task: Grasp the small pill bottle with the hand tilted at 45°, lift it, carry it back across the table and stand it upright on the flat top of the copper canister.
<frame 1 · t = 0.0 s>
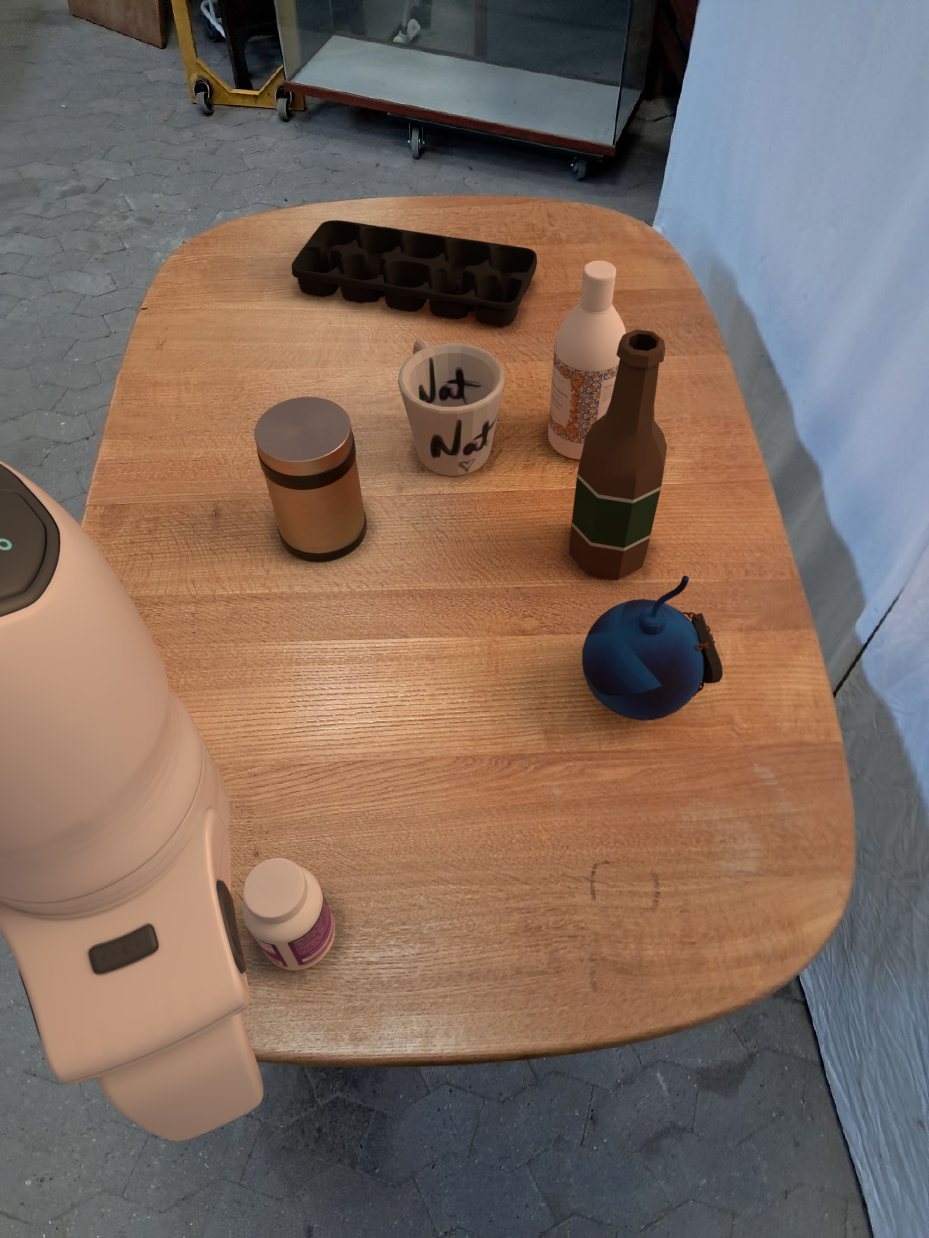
hand: (196, 931, 45), 21 cm above the table, tool pointing down, fingers open, 8 cm apart
copper canister: (323, 529, 89), on the table
pill bottle: (299, 934, 66), on the table
bath foam: (580, 440, 97), on the table
beer bottle: (607, 552, 87), on the table
bomb: (640, 692, 78), on the table
egg carton: (416, 287, 114), on the table
mug: (445, 440, 97), on the table
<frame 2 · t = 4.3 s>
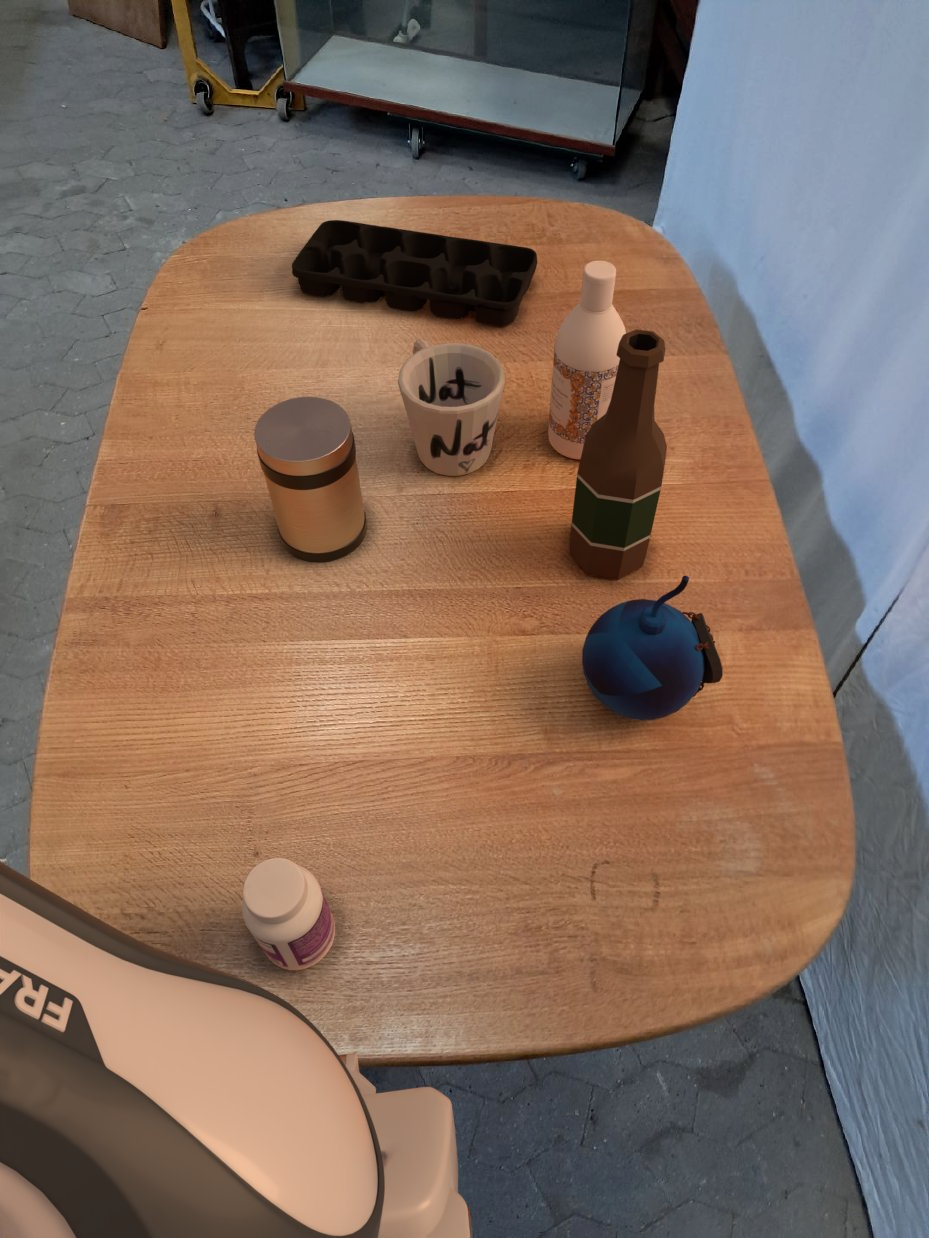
hand: (251, 1078, 46), 16 cm above the table, tool tilted 45°, fingers open, 8 cm apart
nothing on the table moved.
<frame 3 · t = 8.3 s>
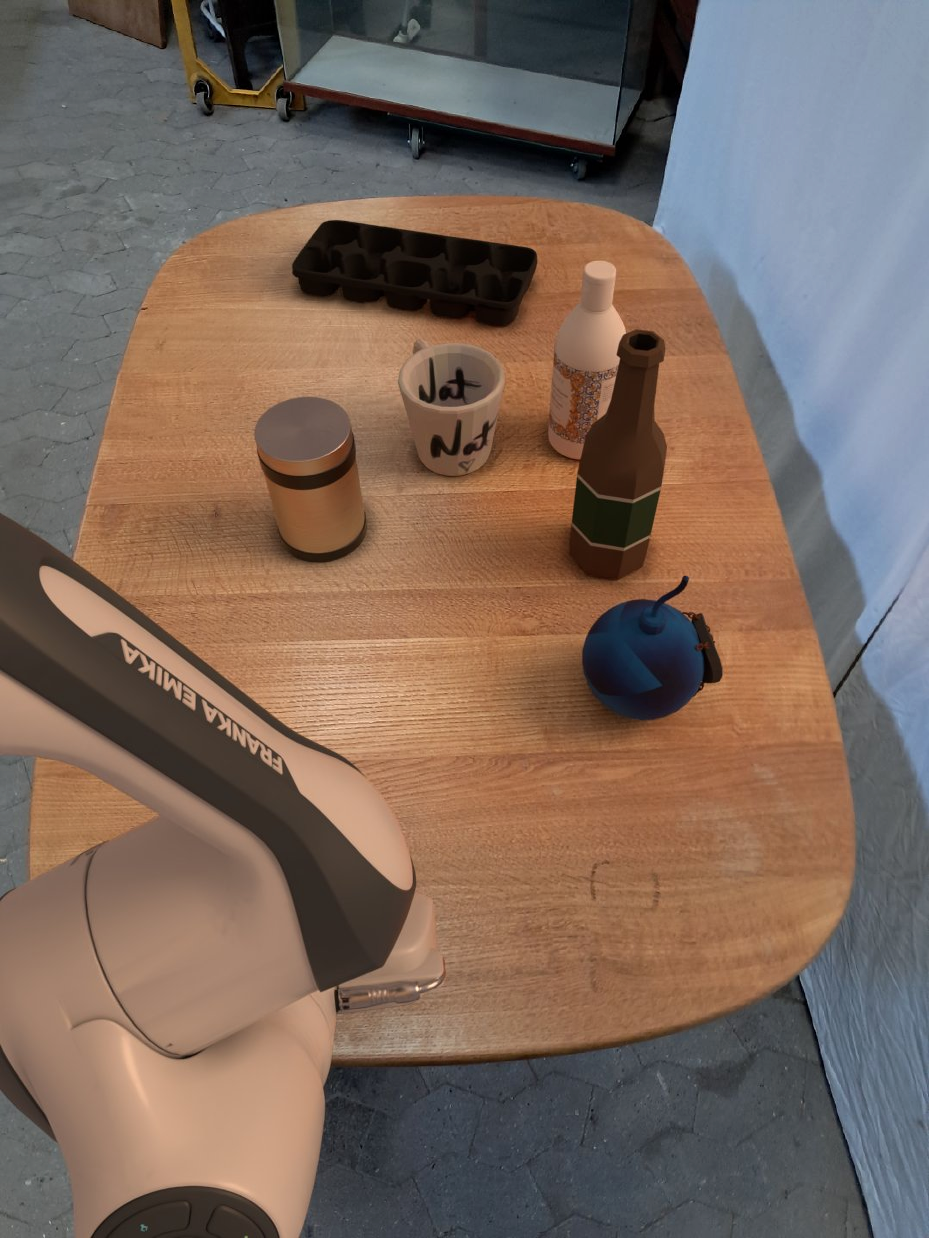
hand: (285, 899, 62), 5 cm above the table, tool tilted 45°, fingers closed on pill bottle, 5 cm apart
pill bottle: (299, 934, 66), on the table, touching gripper
everything else where it was.
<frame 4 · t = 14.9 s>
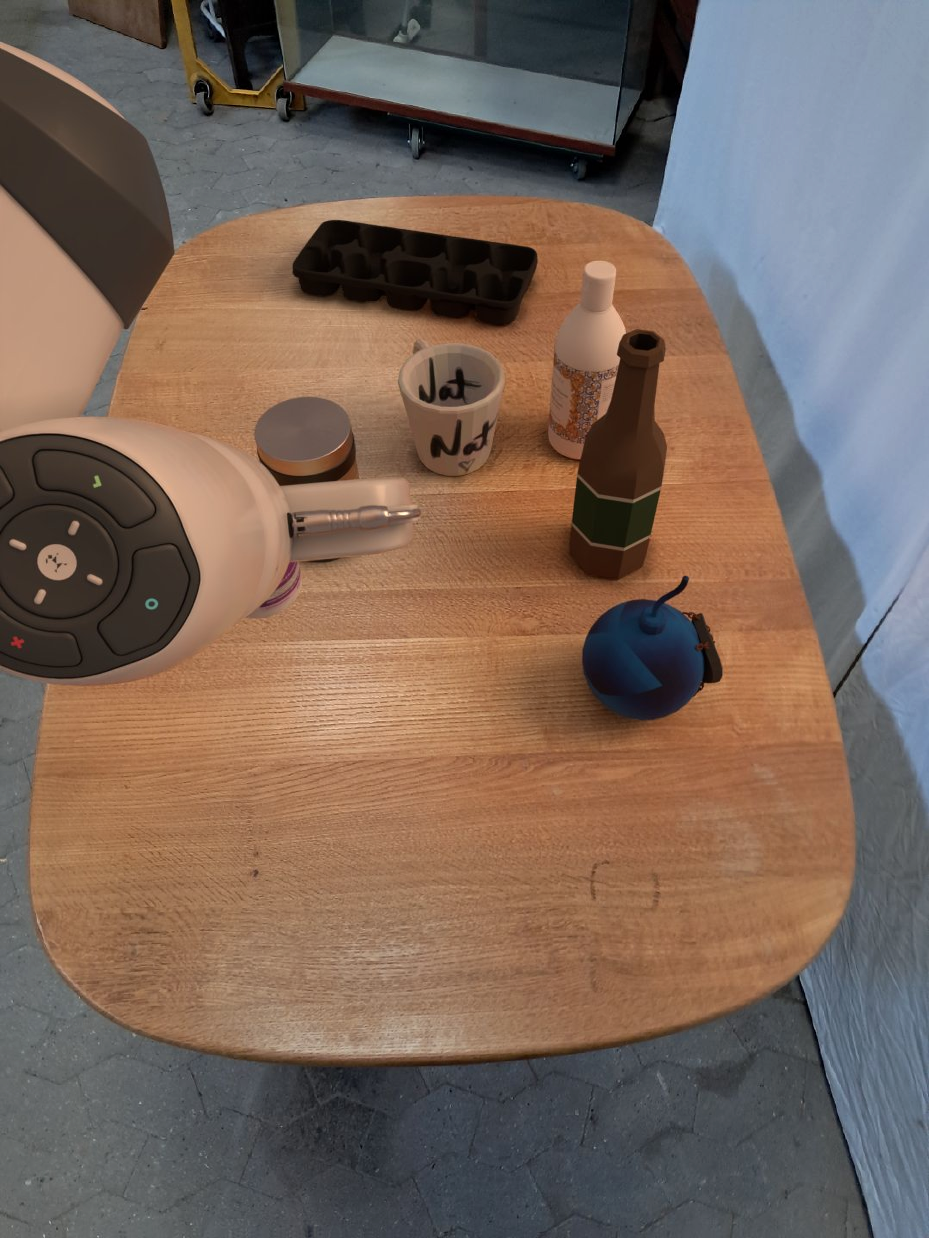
hand: (243, 523, 54), 26 cm above the table, tool tilted 45°, fingers closed on pill bottle, 5 cm apart
pill bottle: (262, 590, 58), point 21 cm above the table, touching gripper
everything else where it was.
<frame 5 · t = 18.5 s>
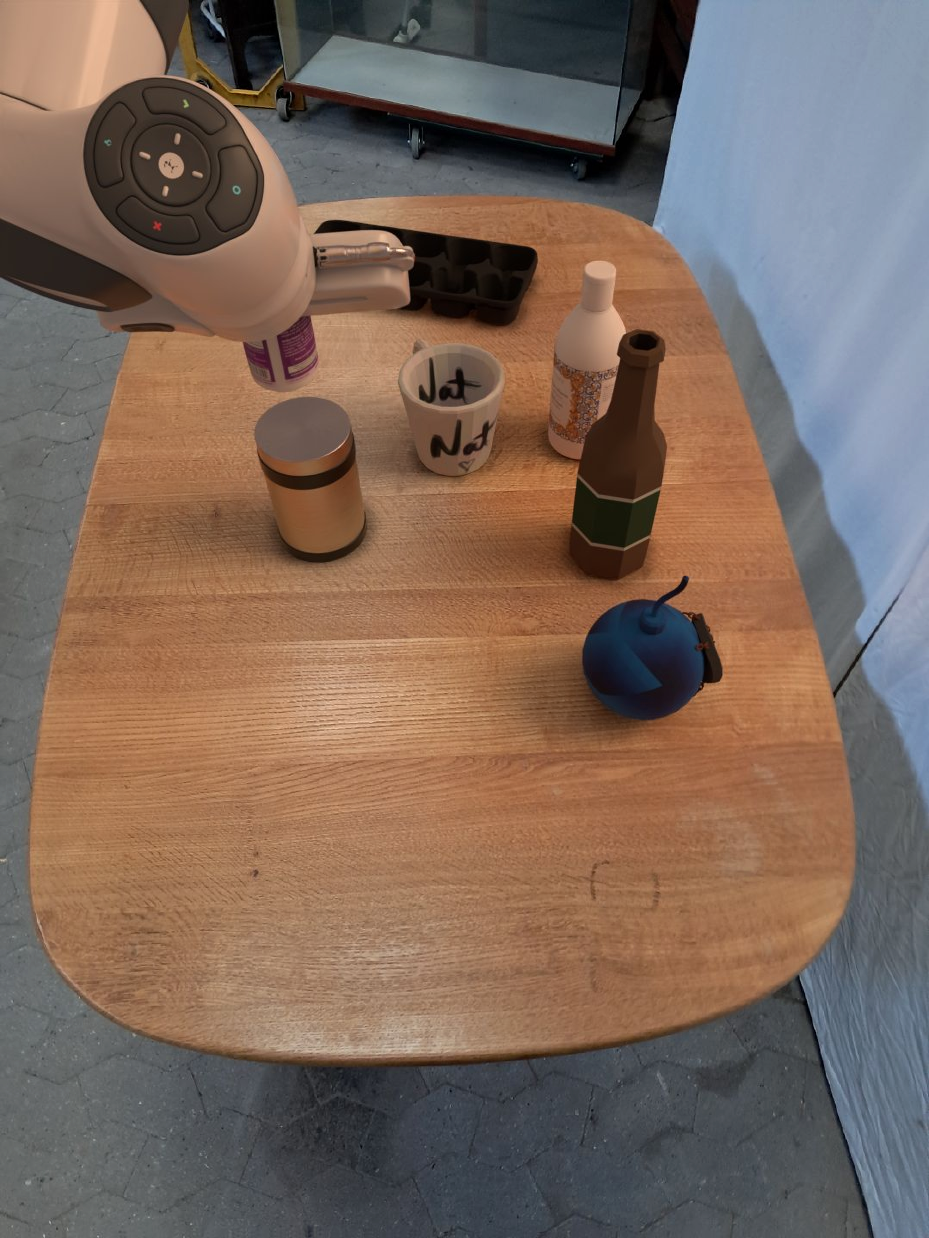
hand: (272, 307, 67), 26 cm above the table, tool tilted 45°, fingers closed on pill bottle, 5 cm apart
pill bottle: (286, 374, 71), point 21 cm above the table, touching gripper
everything else where it was.
when the fingers open (18 cm above the table, at t = 21.6 s): pill bottle stays where it is, resting on copper canister.
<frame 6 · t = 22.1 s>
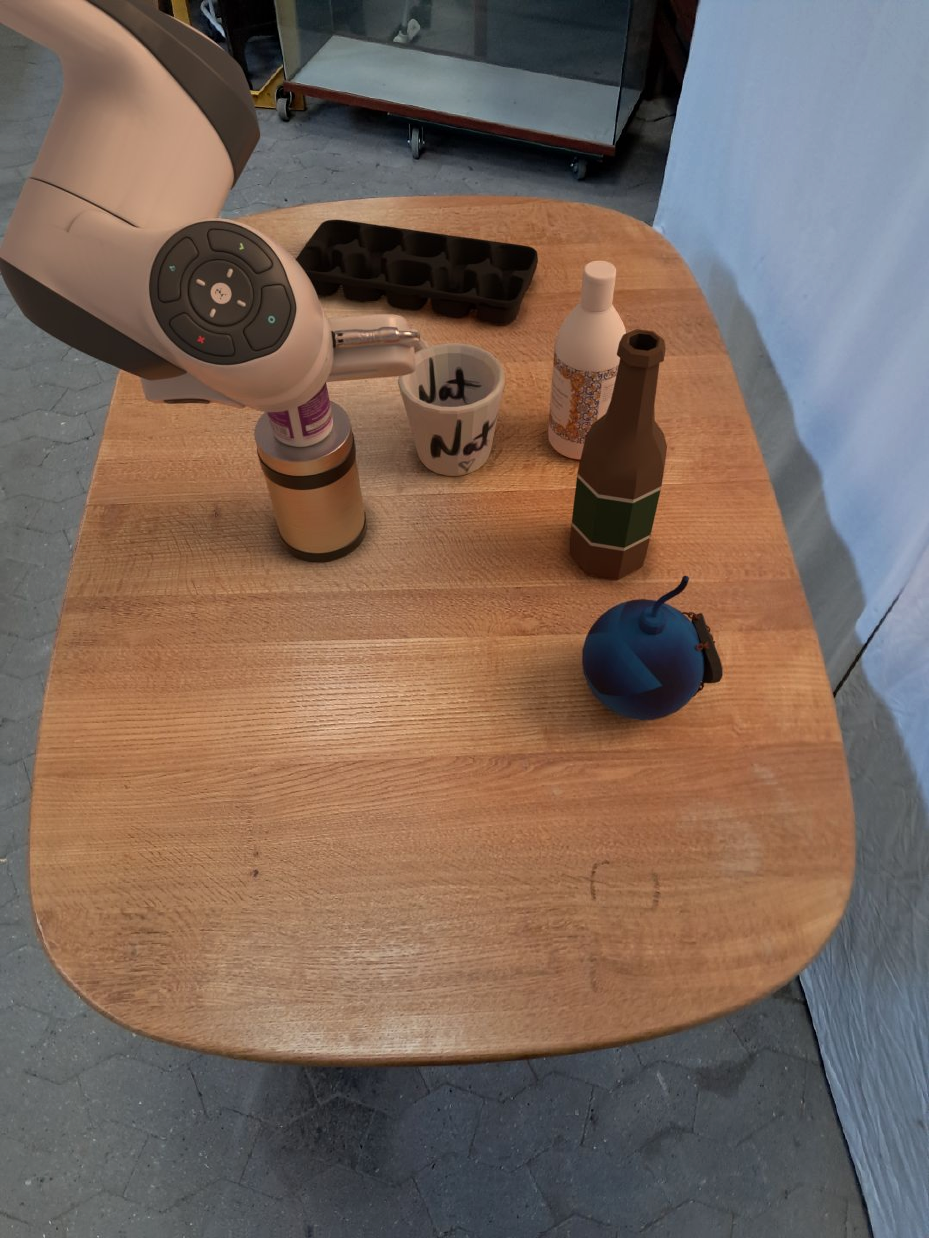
hand: (291, 370, 75), 19 cm above the table, tool tilted 45°, fingers open, 8 cm apart
pill bottle: (303, 430, 79), point 13 cm above the table, touching copper canister
everything else where it was.
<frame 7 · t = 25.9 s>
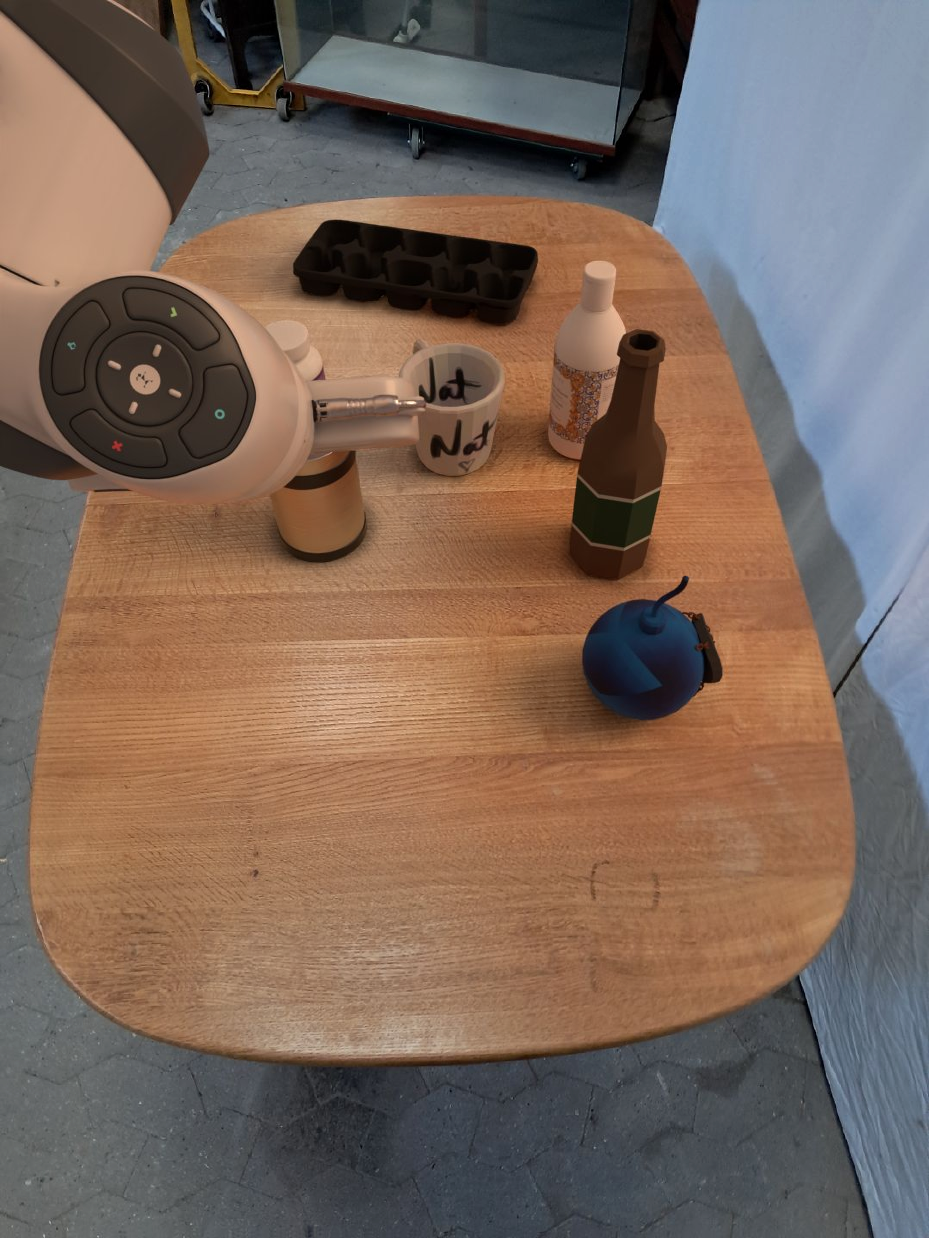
hand: (265, 433, 61), 25 cm above the table, tool tilted 45°, fingers open, 8 cm apart
nothing on the table moved.
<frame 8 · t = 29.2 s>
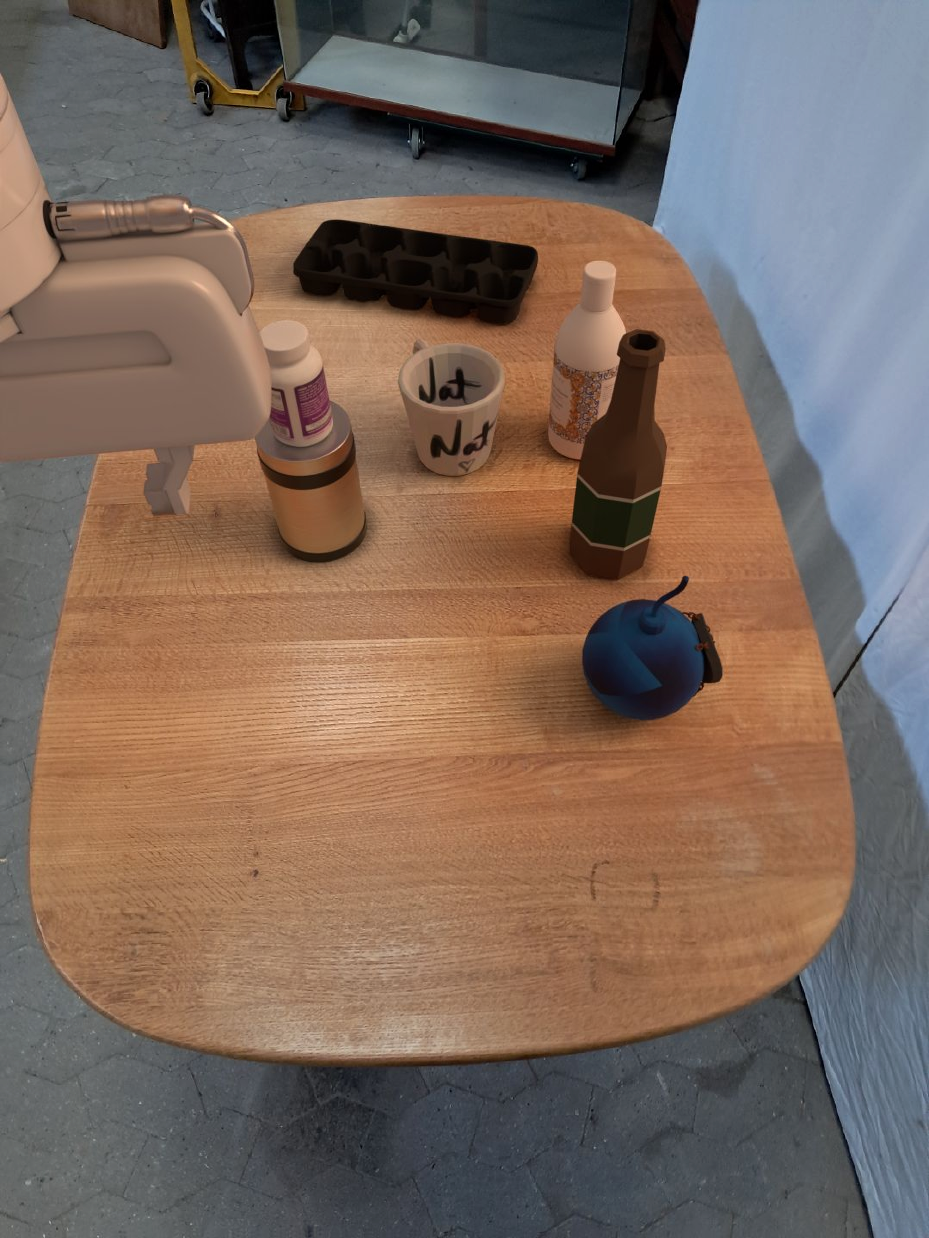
hand: (65, 515, 40), 37 cm above the table, tool pointing down, fingers open, 8 cm apart
nothing on the table moved.
at the end: pill bottle 0.0 cm off-centre on the copper canister, point 12.8 cm above the copper canister's base; pill bottle tilted 0°; the gripper is holding nothing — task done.
